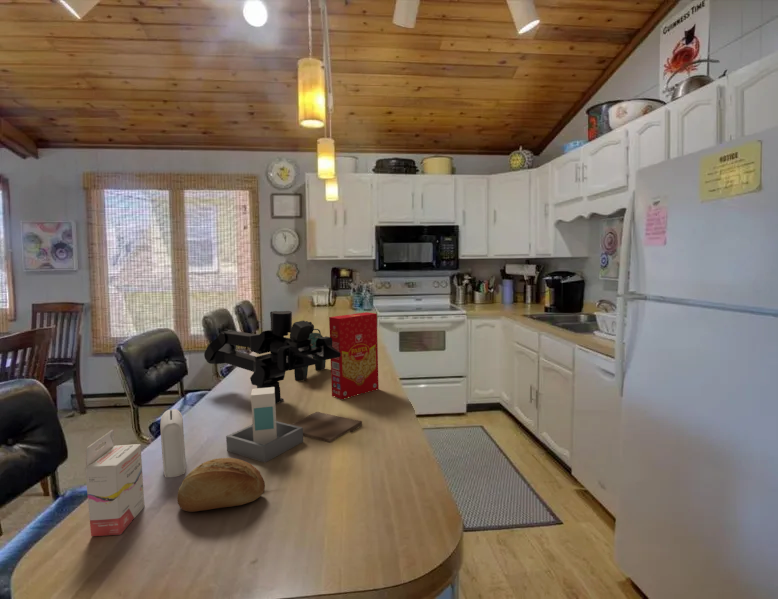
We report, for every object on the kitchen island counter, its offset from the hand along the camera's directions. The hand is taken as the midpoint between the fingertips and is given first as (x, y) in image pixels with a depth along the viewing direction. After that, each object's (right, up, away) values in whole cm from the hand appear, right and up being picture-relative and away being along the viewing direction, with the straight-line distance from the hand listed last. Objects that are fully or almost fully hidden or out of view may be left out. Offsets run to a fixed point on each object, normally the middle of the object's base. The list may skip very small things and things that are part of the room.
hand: (328, 358), depth 119 cm
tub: (-12, -19, -16) cm, 28 cm away
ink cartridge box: (-30, -22, -43) cm, 57 cm away
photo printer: (-29, -20, -25) cm, 43 cm away
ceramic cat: (-13, -12, +47) cm, 50 cm away
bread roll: (-14, -21, -39) cm, 46 cm away
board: (-1, -17, -5) cm, 18 cm away
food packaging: (+5, -14, +24) cm, 28 cm away
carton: (-12, -18, -16) cm, 27 cm away
